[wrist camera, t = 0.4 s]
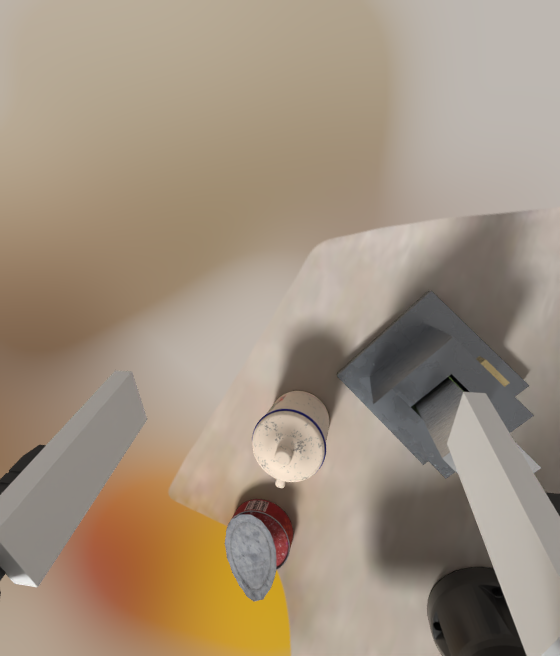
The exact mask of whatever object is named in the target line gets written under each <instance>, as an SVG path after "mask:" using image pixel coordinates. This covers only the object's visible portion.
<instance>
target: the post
mask: <svg viewBox="0 0 560 656" xmlns="http://www.w3.org/2000/svg"><path fill="white" fill-rule="evenodd" d="M463 392H464V391H463V390H462V389H461V388H460V387H459V386H458V385H457V384H456V383H455V382H454V381H453V380H452V379H451V378H450V377H449V376H448V377H447V378H446V379H445V380H443V381H442V382H441V383H440V384H438V385H437V386H436V387H435V388H433V389H432V390H431V391H430V392H429V393H427V394H426V395H425V396H424V397H422V398H421V399H420V400H419V401H417V402H416V403H415V405H416V407H417V409H418V411H419V413H420V415H421V417H422V419H423V421H424V423H425V425H426V427H427V429H428V431H429V433H430V435H431V437H432V439H433V441H434V443H435V445H436V447H437V449H438V451H439V453H440V455H441V457H442V459H443V460H444V461H445V462H446V463H447V464H448V465H449V466H450V467H451V468H452V469H453V470H454V471H455V472H456V473H457V474H458V472H457V469H456V466H455V464H454V461H453V458H452V456H451V453H450V450H449V448H448V445H447V442H448V439H449V436H450V432H451V429H452V426H453V423H454V420H455V417H456V414H457V410H458V407H459V404H460V401H461V398H462V395H463ZM515 443H516V442H515ZM516 445H517V446H518V448H519V450H520V451H521V453H522V454H523V456H524V458H525V459H526V461H527V463H528V464H529V466H530V468H531V469H532V471H533V473H535V472H536V471H538V470H539V469H541V467H540V466H539V465H538V464H537V463H536V462H535V461H534V460H533V459H532V458H531V457H530V456H529V455H528V454H527V453H526V452H525V451H524V450H523V449H522V448H521V447H520V446H519V445H518V444H517V443H516ZM458 475H459V474H458Z"/></svg>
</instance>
